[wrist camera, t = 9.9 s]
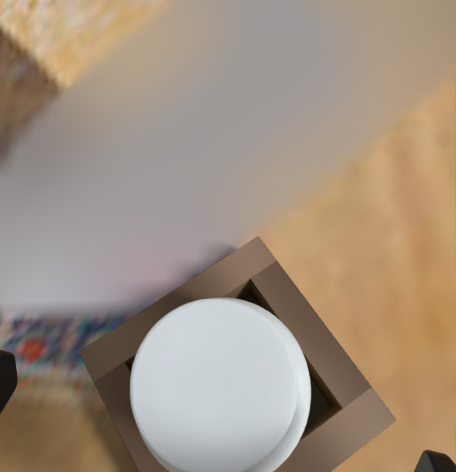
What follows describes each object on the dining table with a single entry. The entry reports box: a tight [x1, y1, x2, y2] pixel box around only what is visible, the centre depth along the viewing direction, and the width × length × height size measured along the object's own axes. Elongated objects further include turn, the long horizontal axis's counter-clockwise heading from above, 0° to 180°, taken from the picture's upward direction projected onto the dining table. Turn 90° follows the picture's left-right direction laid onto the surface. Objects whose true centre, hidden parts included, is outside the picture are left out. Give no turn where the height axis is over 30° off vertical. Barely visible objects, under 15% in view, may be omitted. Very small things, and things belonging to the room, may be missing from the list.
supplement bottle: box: [130, 298, 311, 472], centre depth 14 cm, size 5×5×10 cm
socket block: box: [79, 236, 396, 472], centre depth 18 cm, size 9×9×3 cm
